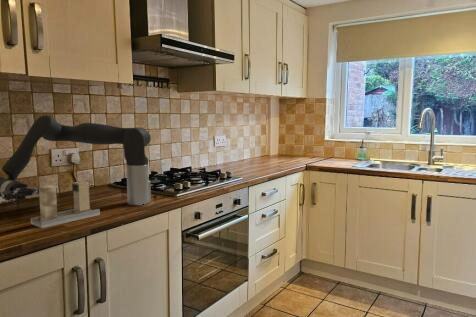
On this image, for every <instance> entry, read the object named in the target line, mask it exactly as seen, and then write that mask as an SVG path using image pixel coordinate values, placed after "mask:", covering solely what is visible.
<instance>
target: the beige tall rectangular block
mask: <svg viewBox="0 0 476 317" xmlns="http://www.w3.org/2000/svg"><path fill="white" fill-rule="evenodd" d="M38 194H39V196H38V197H39V209H40V210H39V212H40V215H39V216H41V221H44V220H49V219H54V218H57V213H58V203H57V202H58V200H57V196H58V188H57V187H56V186H55V185H44V186H39V193H38Z"/></svg>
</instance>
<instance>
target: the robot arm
mask: <svg viewBox="0 0 476 317" xmlns="http://www.w3.org/2000/svg"><path fill="white" fill-rule="evenodd" d="M41 138H42V139H44V140H46V141H49V142H74V143H83V144H87V145H88V144H89V145H122V146H123V154H124V159H125V161H126V162H125V163H126V164H125V165H126V192H127V197H126V198H127V205H129V206H143V204H144V205H147V203H148V204H149V203H152V190H151V188H152V186H151V185H152V184H151V183H152V182H151V180H150V178H149V174H150V172H149V158H148V157H147V156H146V153H145V150H146V148H145V147H147V146H148V145H149V144H150V143H151V140H152V139H151V138H152V137H151V134H150V132H149V131H148V130H147V129H145V128H144V127H119V126H114V125H109V124H102V123H95V122H94V123H93V122H82V123H79V124H77V125H73V126H72V125H71V126H70V125H64V124H60V123H59V122H57V121H56V120H55V119H54V118H53V117H52V116H50V115H47V114H45V115H40V116H39V117H38V118H37V119H35V120H34V122H33V123H32V125H31V127H30V128H29V129H28V131H27V133H26V135H25V136H24V138H23V140H22V141H21V142H20V144H19V146H18V147H17V149H16V150H15V151H14V153H12V155H11V156H10V157H9V158H8V160H6V162H5V163H4V164H3V165H2V166H1V170H2V172H3V173H4V174H5V175H7V176H6V177H7V178H5V177H2V176H0V198H1V199H3V200H6V201H9V202H10V201H11V200H12V201H14V202H22V201H24V200H26V199H27V198H31V197H32V198H35V197H39V187H40V186H36V187H30V186H29V185H27V184H26V183H25V182H23V181H18V180H17V179H18V177H19V175H20V174H21V173H22V172H23V171H24V170H25V168H26V167H28V164H29V163H30V161H31V158H32V155H33V152H34V149H35V147H36V145H37V143H38V142H39V141H40V139H41Z"/></svg>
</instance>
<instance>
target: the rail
mask: <svg viewBox="0 0 476 317" xmlns="http://www.w3.org/2000/svg"><path fill="white" fill-rule="evenodd" d="M71 185H72V191H73V192H72V193H73V209H68V210H63V211H59V212H58V211H57V218H54V219H49V220H44V221H41V215H39V216H35V217H34V216H33V217H30V225H33V226H35V227H38V228H40V229H44V228H49V227H53V226H57V225H62V224H67V223H71V222H75V221H80V220H84V219H88V218H92V217H97V216H100V215H101V209H100V208H95V209H91V206H90V186H89V181H84V180H81V181H75V182H72V184H71Z"/></svg>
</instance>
